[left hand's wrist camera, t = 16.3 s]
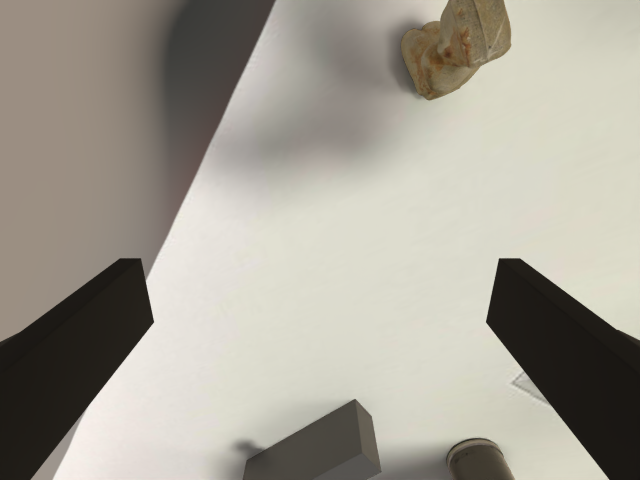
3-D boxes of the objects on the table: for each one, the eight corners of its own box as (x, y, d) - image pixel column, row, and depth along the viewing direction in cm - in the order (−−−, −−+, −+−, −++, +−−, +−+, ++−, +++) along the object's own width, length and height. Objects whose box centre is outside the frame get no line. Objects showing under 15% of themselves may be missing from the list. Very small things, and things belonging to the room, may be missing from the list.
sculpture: (444, 17, 36) (524, -43, 22) (457, 88, 38) (537, 75, 24) (390, 39, 36) (434, -6, 22) (407, 107, 39) (456, 105, 25)
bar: (355, 398, 55) (362, 452, 46) (371, 415, 56) (381, 472, 47) (246, 460, 60) (234, 520, 51) (264, 475, 61) (255, 536, 52)
